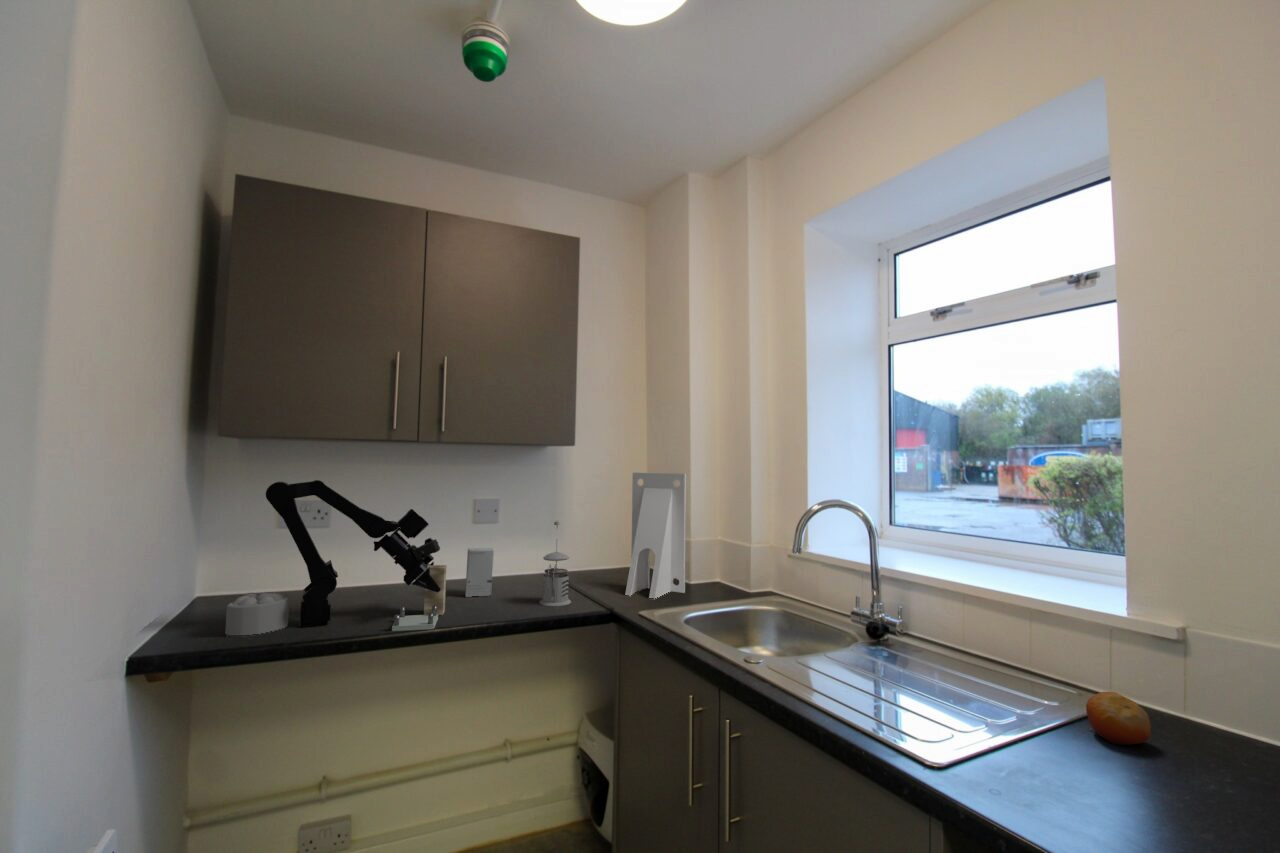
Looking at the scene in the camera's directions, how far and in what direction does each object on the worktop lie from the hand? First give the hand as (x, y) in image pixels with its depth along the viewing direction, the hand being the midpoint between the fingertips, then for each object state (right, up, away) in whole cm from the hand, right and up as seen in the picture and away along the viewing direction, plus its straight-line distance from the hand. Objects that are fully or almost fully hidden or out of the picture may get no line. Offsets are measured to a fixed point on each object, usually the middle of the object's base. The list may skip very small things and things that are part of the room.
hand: (440, 589), depth 165 cm
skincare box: (+5, -8, +22) cm, 25 cm away
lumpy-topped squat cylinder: (-41, -5, -18) cm, 45 cm away
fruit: (+134, -4, -72) cm, 152 cm away
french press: (+31, -8, +13) cm, 34 cm away
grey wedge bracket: (+60, -10, +28) cm, 67 cm away
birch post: (-1, -7, -1) cm, 7 cm away
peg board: (-2, -6, -12) cm, 14 cm away
